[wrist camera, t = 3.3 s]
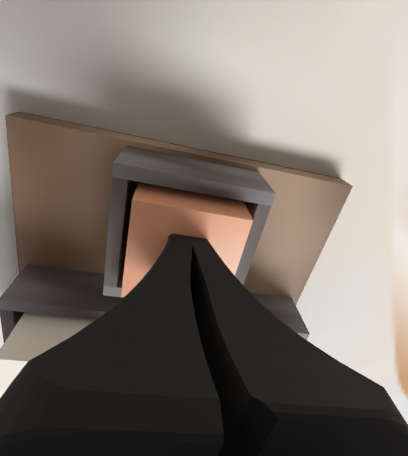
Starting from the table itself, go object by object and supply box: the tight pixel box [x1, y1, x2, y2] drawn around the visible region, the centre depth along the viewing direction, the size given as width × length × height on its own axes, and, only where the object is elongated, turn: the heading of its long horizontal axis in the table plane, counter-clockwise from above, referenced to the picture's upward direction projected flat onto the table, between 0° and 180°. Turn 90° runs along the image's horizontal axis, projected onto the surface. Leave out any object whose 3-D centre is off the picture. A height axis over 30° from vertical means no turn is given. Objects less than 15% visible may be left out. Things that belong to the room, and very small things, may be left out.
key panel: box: [0, 112, 353, 343], centre depth 14 cm, size 14×13×4 cm
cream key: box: [0, 312, 95, 398], centre depth 13 cm, size 4×4×3 cm
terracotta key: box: [121, 182, 253, 297], centre depth 12 cm, size 4×4×3 cm
